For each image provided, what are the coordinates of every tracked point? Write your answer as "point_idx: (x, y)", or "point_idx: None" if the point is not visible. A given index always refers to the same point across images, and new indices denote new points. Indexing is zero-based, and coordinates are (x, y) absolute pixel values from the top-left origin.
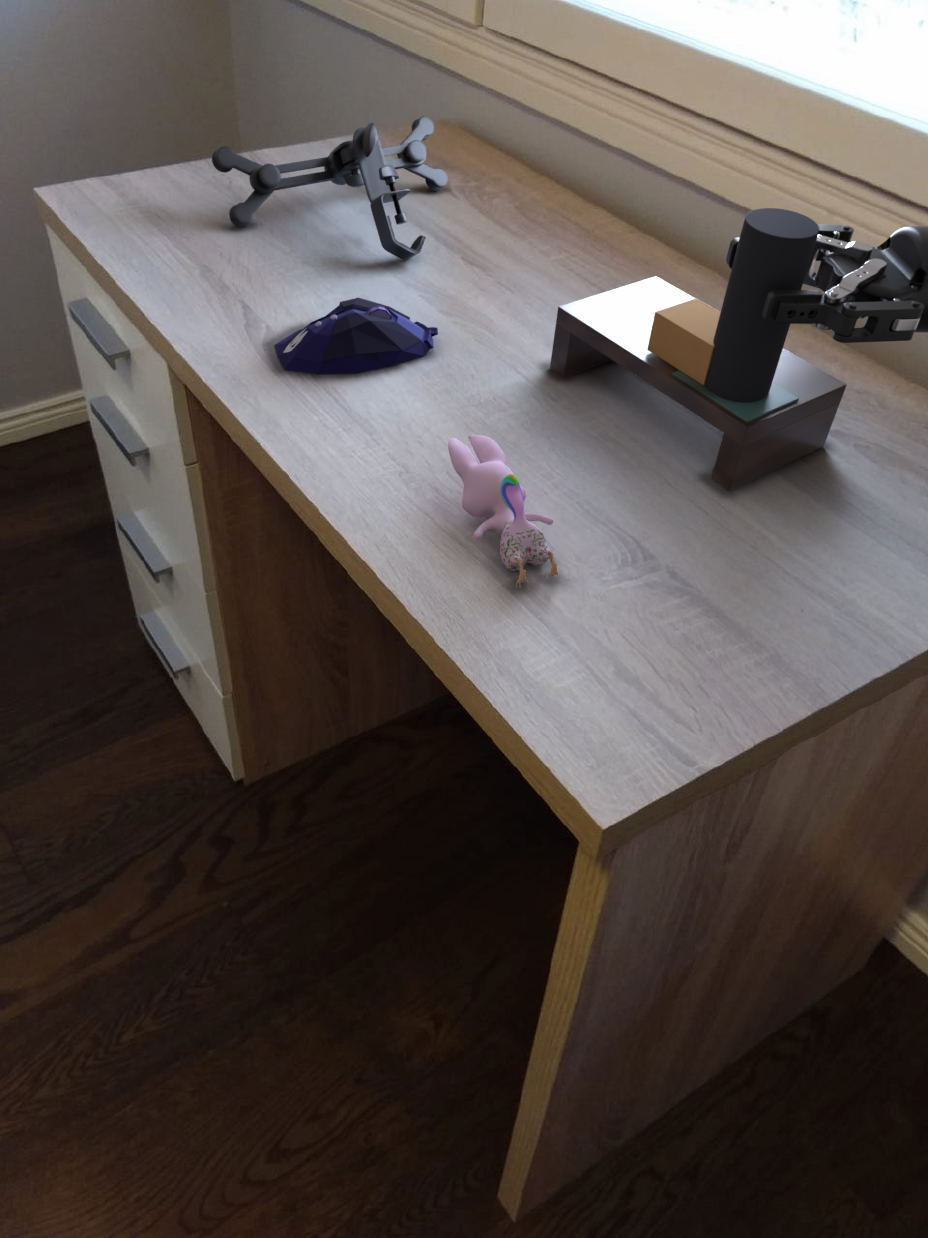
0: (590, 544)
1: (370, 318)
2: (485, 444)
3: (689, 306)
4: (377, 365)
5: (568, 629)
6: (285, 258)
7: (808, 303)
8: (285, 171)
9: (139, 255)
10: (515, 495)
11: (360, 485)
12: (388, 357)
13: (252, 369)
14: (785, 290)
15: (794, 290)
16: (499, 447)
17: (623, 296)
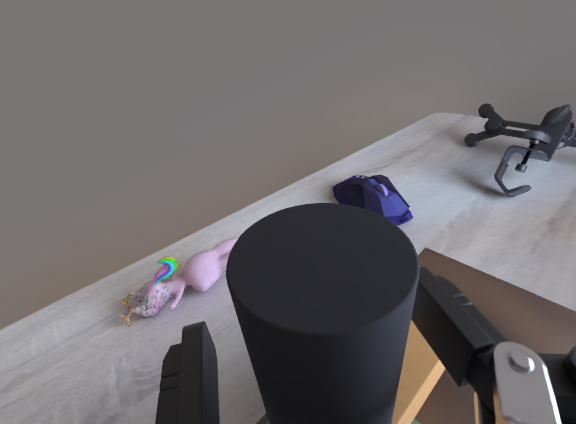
0: (166, 346)
1: (366, 185)
2: None
3: None
4: None
5: (80, 340)
6: (451, 163)
7: (165, 407)
8: (510, 125)
9: (407, 137)
10: (162, 269)
11: (234, 230)
12: None
13: (328, 180)
14: (199, 345)
15: (200, 364)
16: None
17: (499, 293)
